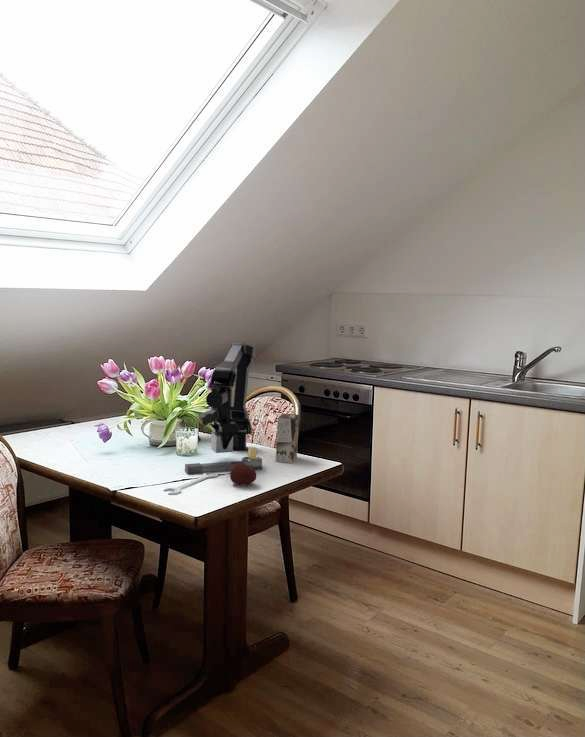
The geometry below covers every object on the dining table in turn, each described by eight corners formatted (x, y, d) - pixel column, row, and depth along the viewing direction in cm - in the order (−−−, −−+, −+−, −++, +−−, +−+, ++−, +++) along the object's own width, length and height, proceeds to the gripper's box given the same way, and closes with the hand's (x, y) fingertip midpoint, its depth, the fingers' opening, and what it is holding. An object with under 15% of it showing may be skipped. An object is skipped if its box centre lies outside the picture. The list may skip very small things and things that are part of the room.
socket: (211, 448, 231) (211, 432, 230) (227, 447, 233) (227, 431, 233) (216, 453, 225) (216, 436, 225) (232, 451, 228) (233, 435, 227)
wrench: (159, 495, 195) (173, 498, 193) (159, 490, 195) (174, 493, 193) (208, 474, 217) (221, 476, 215) (208, 469, 217) (221, 472, 214)
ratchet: (183, 469, 219) (184, 449, 218) (257, 464, 230) (258, 444, 229) (188, 475, 213) (189, 454, 212) (264, 469, 223) (265, 449, 222)
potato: (253, 489, 202) (254, 467, 201) (227, 486, 203) (227, 465, 202) (258, 482, 209) (259, 461, 208) (233, 480, 210) (233, 459, 210)
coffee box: (292, 463, 233) (294, 419, 231) (275, 461, 234) (276, 417, 232) (297, 457, 242) (299, 414, 240) (280, 455, 243) (282, 412, 241)
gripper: (193, 398, 232) (192, 441, 234) (208, 409, 215) (207, 455, 218) (223, 397, 237) (222, 439, 239) (240, 407, 220) (238, 453, 222)
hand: (222, 446), depth 229 cm, fingers closed on socket, 6 cm apart
